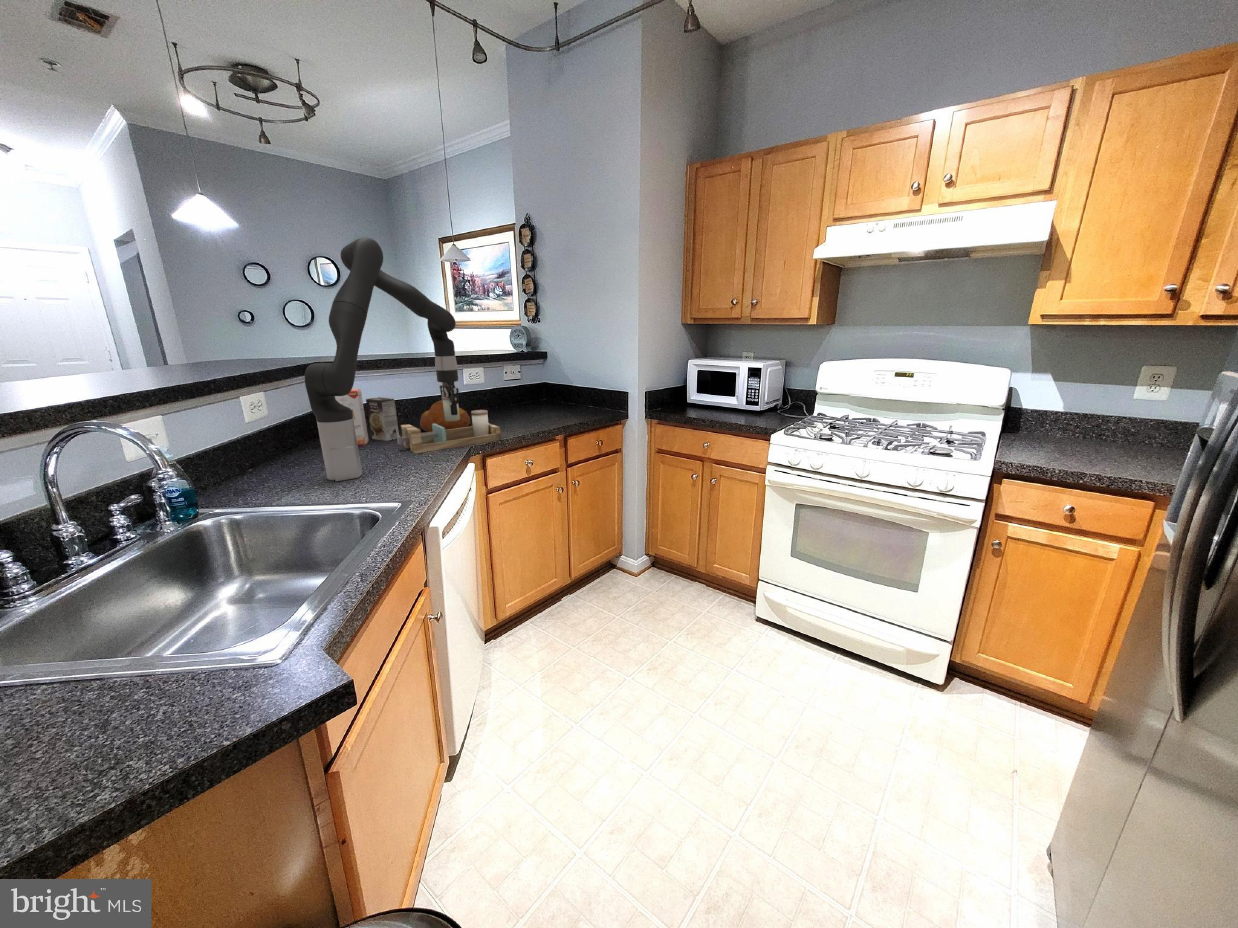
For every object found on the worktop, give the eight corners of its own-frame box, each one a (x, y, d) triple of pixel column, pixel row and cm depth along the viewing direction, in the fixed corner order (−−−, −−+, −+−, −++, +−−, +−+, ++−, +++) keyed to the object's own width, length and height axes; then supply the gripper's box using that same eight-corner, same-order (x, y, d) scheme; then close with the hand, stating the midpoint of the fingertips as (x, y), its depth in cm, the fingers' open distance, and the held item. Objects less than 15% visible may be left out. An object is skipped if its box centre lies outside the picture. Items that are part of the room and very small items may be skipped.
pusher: (447, 446, 177) (444, 428, 175) (403, 453, 168) (400, 433, 166) (437, 441, 186) (435, 423, 184) (395, 447, 177) (392, 428, 175)
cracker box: (324, 448, 179) (314, 391, 173) (329, 444, 185) (319, 389, 179) (366, 445, 182) (357, 390, 177) (369, 441, 188) (360, 388, 182)
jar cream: (492, 438, 190) (490, 411, 187) (477, 441, 187) (474, 413, 184) (486, 436, 195) (483, 409, 192) (471, 438, 191) (468, 411, 188)
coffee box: (371, 439, 193) (364, 399, 188) (385, 435, 198) (379, 396, 194) (386, 441, 188) (380, 400, 184) (400, 438, 194) (394, 398, 189)
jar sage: (462, 419, 182) (459, 396, 179) (447, 421, 178) (444, 398, 176) (457, 417, 186) (454, 395, 183) (442, 419, 183) (439, 396, 180)
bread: (408, 437, 196) (404, 407, 193) (433, 422, 228) (430, 395, 224) (460, 435, 197) (457, 405, 194) (478, 420, 229) (476, 394, 225)
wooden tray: (501, 439, 188) (499, 419, 186) (414, 453, 169) (411, 431, 167) (486, 433, 199) (484, 414, 197) (403, 446, 180) (400, 425, 178)
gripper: (463, 369, 174) (468, 415, 178) (450, 366, 184) (454, 410, 189) (442, 370, 169) (448, 417, 174) (430, 368, 180) (435, 412, 185)
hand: (451, 413), depth 182 cm, fingers closed on jar sage, 5 cm apart
